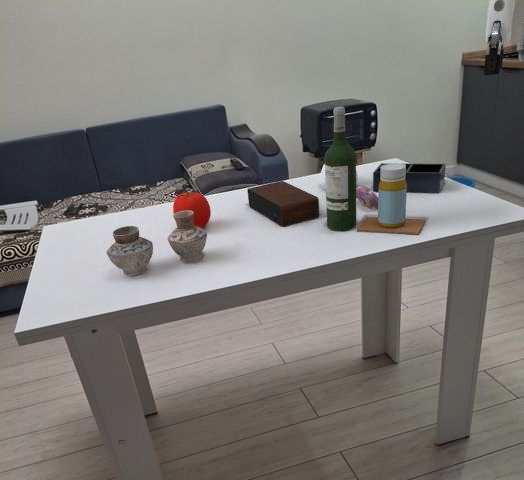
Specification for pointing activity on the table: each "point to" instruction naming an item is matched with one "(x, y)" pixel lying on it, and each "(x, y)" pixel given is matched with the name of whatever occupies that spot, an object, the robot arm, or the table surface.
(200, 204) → the tomato
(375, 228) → the cork mat
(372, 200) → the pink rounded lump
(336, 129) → the wine bottle
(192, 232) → the pottery
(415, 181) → the divided storage box
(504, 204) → the table surface
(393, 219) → the bottle
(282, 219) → the brown box
